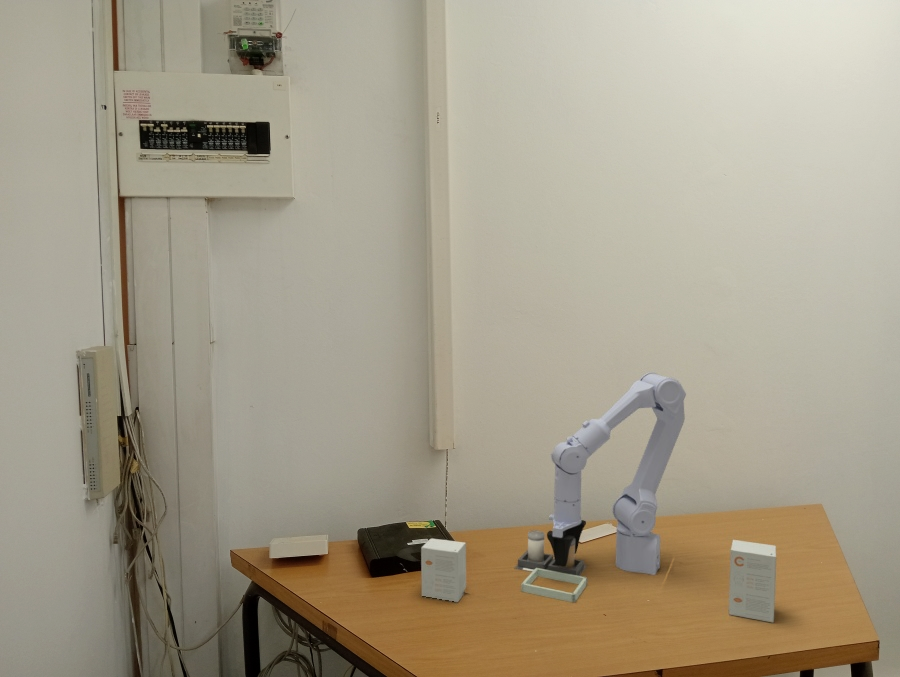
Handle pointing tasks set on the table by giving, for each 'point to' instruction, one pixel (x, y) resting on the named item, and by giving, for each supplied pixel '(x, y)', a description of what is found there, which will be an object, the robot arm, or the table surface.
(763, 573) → the small box
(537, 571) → the tray
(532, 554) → the cylinder
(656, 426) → the robot arm
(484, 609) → the table surface
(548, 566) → the tray
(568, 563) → the cylinder
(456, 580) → the small box
